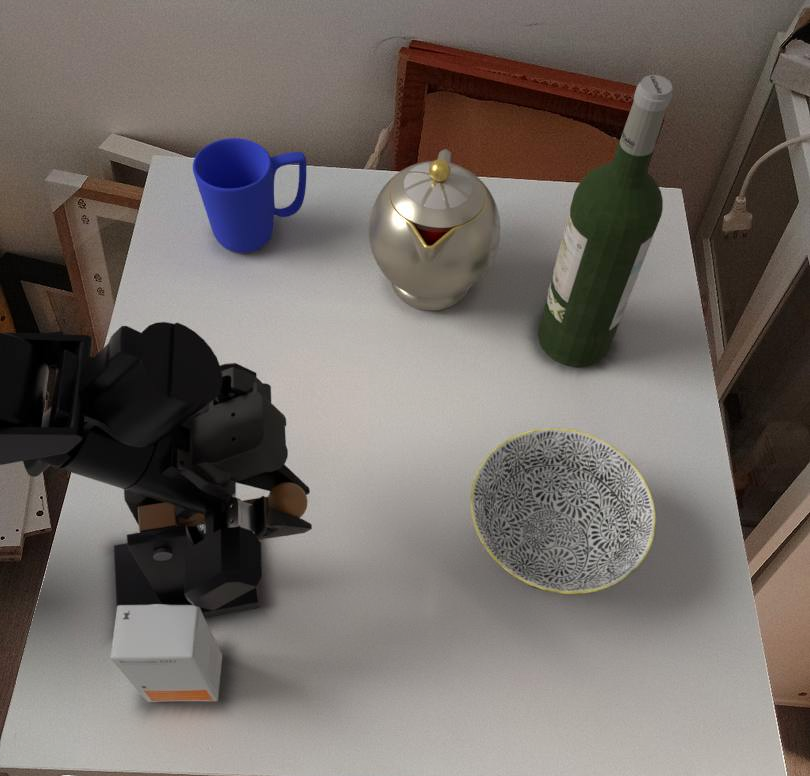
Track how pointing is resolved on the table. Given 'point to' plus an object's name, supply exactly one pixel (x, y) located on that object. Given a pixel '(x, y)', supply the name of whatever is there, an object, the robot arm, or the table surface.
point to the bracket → (162, 567)
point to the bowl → (563, 511)
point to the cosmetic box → (167, 652)
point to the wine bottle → (606, 238)
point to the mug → (243, 191)
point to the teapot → (434, 232)
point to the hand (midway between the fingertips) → (307, 511)
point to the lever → (164, 514)
